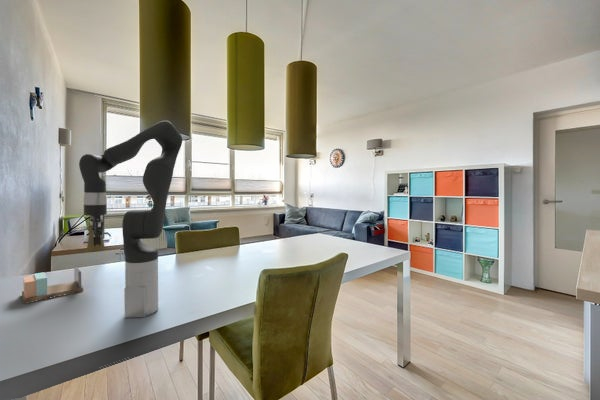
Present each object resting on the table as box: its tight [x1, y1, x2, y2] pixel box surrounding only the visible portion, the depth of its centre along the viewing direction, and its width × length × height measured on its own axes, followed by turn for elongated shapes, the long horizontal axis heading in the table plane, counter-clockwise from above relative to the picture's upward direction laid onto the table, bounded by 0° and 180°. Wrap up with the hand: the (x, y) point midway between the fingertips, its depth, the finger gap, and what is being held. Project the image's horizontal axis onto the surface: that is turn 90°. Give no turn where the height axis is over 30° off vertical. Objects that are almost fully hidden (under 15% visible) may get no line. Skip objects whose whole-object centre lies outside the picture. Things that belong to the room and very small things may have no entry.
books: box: [22, 271, 48, 298], centre depth 96 cm, size 6×9×6 cm, turn 49°
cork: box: [86, 225, 106, 253], centre depth 109 cm, size 6×6×11 cm
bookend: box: [73, 266, 82, 287], centre depth 105 cm, size 1×9×6 cm, turn 48°
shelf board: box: [21, 280, 84, 304], centre depth 100 cm, size 16×11×2 cm
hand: (95, 244), depth 109 cm, fingers closed on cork, 4 cm apart
